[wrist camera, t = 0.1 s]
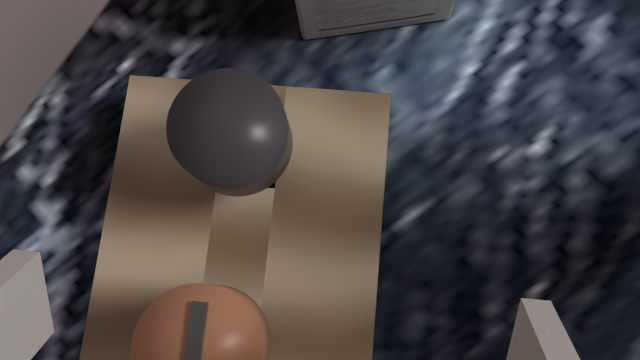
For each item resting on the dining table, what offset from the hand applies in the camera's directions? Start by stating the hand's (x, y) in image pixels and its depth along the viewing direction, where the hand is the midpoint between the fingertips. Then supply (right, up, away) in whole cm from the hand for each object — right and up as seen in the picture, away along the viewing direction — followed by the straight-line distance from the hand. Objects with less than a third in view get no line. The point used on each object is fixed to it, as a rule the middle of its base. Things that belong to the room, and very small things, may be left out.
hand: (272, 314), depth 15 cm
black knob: (-2, +5, +14) cm, 15 cm away
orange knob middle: (-3, -4, +12) cm, 14 cm away
